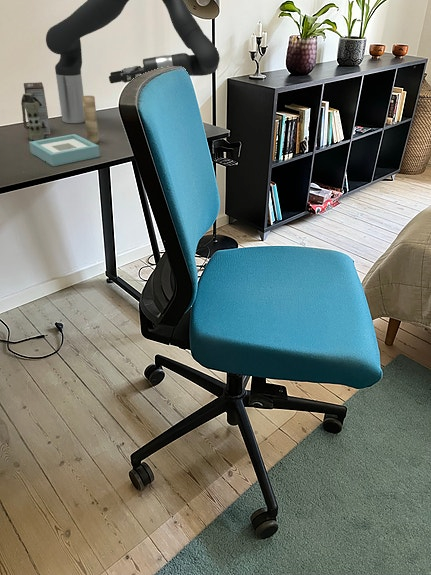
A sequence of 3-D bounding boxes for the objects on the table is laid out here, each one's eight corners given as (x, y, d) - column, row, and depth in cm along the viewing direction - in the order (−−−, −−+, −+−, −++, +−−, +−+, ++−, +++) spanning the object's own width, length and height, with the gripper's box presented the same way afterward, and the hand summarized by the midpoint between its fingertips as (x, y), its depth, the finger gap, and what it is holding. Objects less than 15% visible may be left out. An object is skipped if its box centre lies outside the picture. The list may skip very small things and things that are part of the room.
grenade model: (49, 136, 167) (42, 92, 159) (38, 142, 161) (30, 96, 153) (33, 134, 168) (26, 90, 160) (22, 139, 163) (13, 94, 154)
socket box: (30, 152, 152) (28, 141, 150) (76, 144, 161) (74, 133, 159) (53, 166, 142) (51, 155, 140) (99, 156, 151) (98, 145, 149)
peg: (85, 141, 164) (79, 96, 155) (95, 139, 166) (90, 95, 158) (90, 144, 161) (85, 98, 153) (101, 142, 163) (96, 97, 155)
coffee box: (31, 128, 174) (22, 82, 165) (49, 127, 176) (41, 82, 167) (32, 135, 167) (24, 87, 158) (51, 134, 169) (44, 87, 160)
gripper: (156, 54, 157) (108, 62, 156) (157, 59, 145) (105, 68, 144) (160, 78, 161) (114, 86, 160) (162, 84, 149) (112, 93, 148)
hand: (110, 77), depth 152 cm, fingers open, 8 cm apart
